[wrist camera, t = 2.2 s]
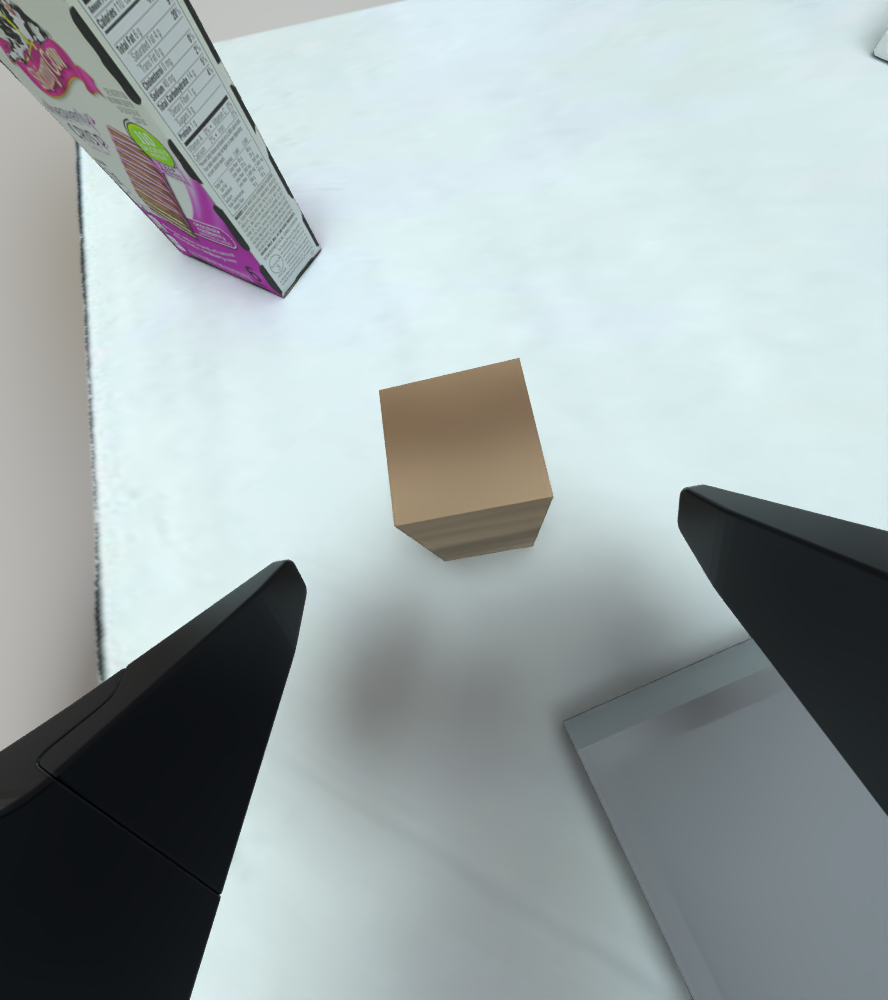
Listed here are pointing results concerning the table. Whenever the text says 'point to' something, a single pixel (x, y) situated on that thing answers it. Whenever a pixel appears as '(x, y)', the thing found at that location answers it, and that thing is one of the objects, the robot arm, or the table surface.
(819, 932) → the charcoal bin
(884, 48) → the medicine bottle
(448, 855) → the table surface
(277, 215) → the candy bar box
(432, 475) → the walnut block
